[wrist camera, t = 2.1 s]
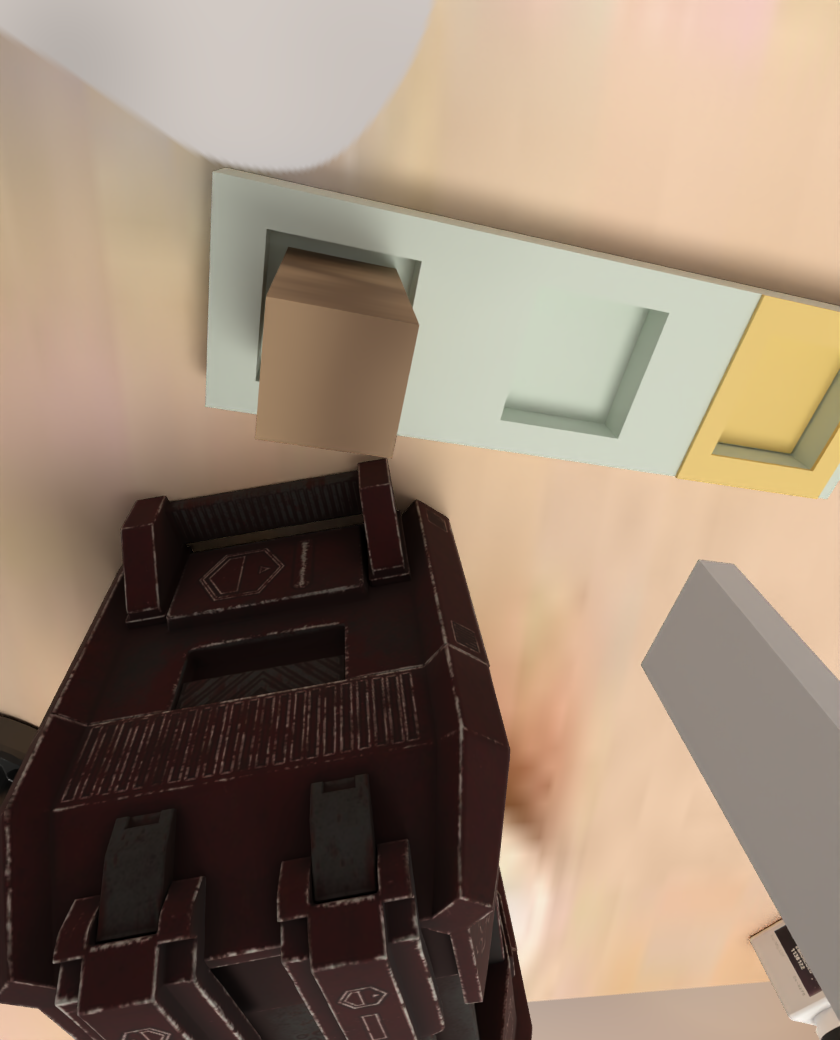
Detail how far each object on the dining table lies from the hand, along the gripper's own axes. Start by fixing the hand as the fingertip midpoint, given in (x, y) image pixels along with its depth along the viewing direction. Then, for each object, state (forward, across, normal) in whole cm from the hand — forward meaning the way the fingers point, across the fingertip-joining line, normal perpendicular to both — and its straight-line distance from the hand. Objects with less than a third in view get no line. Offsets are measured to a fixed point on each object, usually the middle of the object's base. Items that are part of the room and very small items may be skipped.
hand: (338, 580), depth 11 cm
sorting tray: (+20, +11, 0) cm, 23 cm away
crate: (+20, +3, -26) cm, 33 cm away
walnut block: (+19, 0, 0) cm, 19 cm away
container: (+20, +60, -58) cm, 86 cm away
